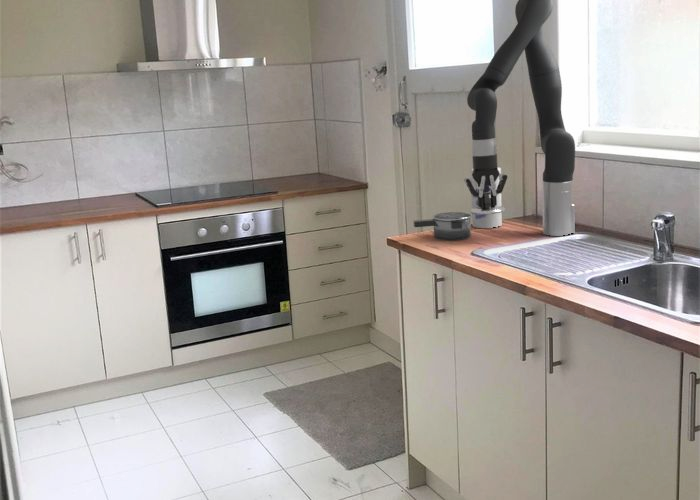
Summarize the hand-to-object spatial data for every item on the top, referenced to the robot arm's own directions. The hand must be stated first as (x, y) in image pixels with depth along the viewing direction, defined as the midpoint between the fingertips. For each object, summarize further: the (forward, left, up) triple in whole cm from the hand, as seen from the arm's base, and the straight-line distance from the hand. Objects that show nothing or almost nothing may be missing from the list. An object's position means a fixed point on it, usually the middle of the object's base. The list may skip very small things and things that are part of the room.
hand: (487, 207), depth 246 cm
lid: (0, 0, -1) cm, 1 cm away
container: (-6, -22, -11) cm, 25 cm away
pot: (+13, -8, -11) cm, 18 cm away
